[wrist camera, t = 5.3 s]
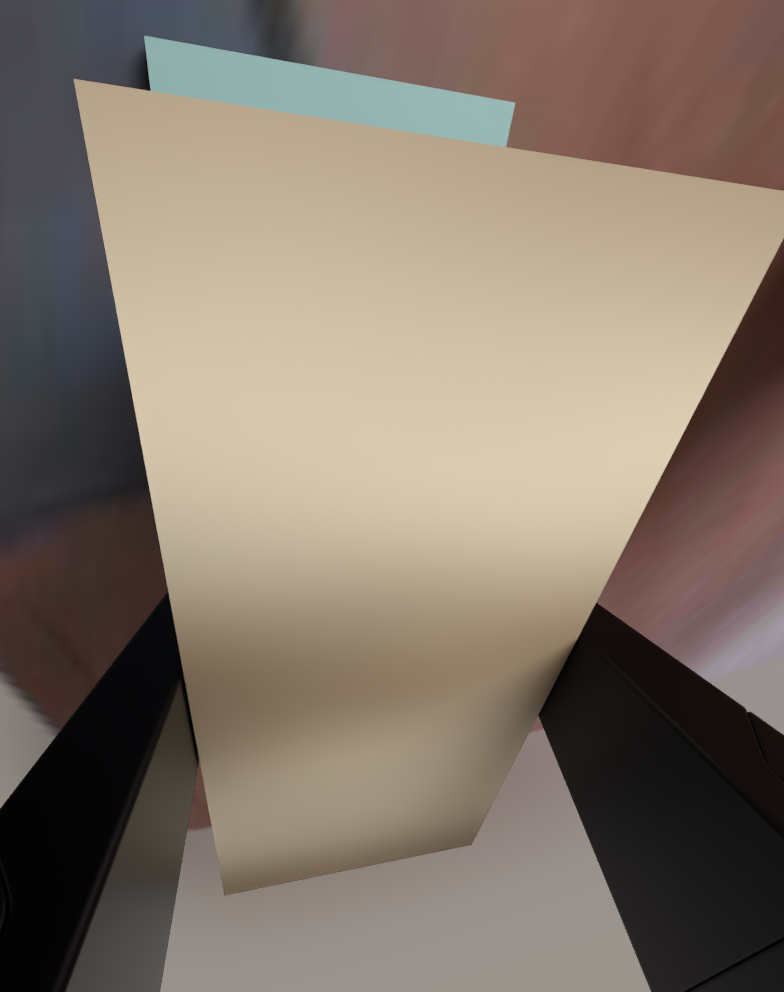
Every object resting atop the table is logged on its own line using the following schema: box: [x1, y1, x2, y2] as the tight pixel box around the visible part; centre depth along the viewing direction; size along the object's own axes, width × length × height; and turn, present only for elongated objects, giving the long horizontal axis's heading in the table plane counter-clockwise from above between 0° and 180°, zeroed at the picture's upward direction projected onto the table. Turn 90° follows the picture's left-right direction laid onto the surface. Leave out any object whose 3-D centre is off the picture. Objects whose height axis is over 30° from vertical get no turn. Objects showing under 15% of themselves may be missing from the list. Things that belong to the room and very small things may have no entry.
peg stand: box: [144, 36, 515, 147], centre depth 12 cm, size 14×7×5 cm, turn 173°
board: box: [74, 79, 784, 895], centre depth 8 cm, size 12×5×3 cm, turn 172°
